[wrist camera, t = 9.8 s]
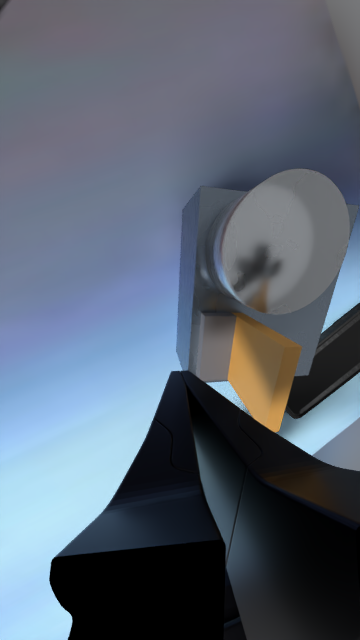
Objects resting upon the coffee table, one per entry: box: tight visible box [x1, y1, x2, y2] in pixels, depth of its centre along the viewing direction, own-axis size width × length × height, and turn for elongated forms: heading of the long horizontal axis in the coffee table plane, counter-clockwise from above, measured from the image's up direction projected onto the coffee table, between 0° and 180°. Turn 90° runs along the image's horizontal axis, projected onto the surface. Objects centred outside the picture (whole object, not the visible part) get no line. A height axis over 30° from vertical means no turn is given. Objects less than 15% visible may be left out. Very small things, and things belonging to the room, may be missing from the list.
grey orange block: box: [196, 313, 302, 432], centre depth 10 cm, size 4×3×5 cm, turn 177°
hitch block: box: [176, 186, 359, 383], centre depth 15 cm, size 12×10×5 cm
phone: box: [285, 303, 360, 419], centre depth 22 cm, size 8×1×15 cm
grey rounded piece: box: [205, 169, 350, 315], centre depth 12 cm, size 6×6×7 cm
